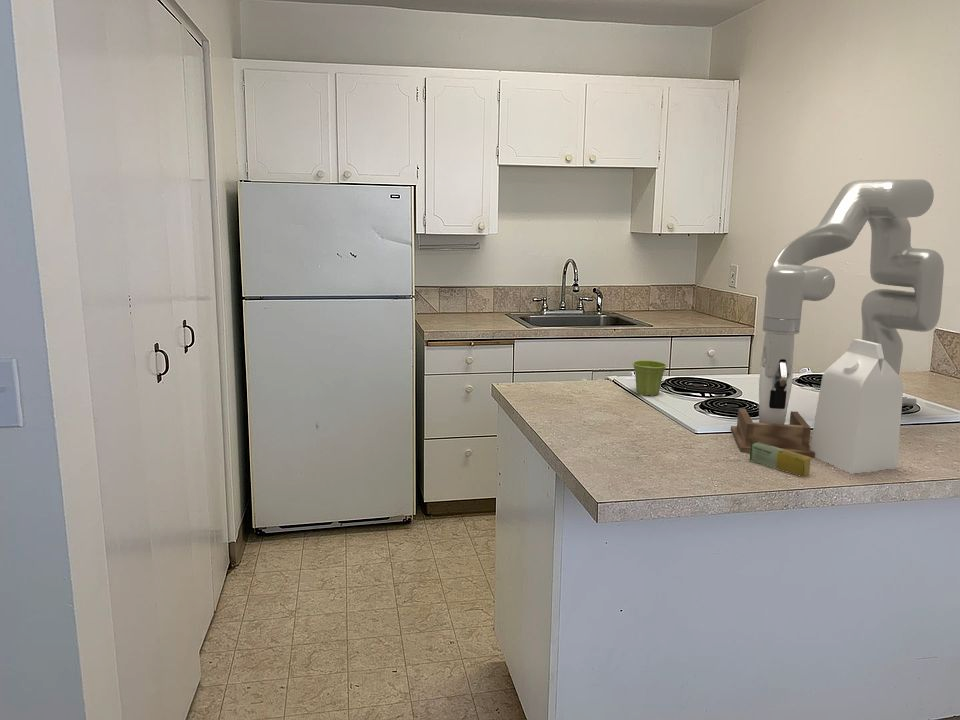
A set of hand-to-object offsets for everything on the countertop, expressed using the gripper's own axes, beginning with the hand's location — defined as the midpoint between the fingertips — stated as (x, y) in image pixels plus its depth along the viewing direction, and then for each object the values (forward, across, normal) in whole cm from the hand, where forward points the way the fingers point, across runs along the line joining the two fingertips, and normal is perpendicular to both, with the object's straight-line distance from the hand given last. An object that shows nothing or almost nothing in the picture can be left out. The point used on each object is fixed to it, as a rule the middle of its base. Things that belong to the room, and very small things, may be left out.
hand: (773, 403), depth 162 cm
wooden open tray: (+9, +1, 0) cm, 9 cm away
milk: (+10, +10, +14) cm, 20 cm away
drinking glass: (+7, 0, 0) cm, 7 cm away
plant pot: (+9, -37, -26) cm, 46 cm away
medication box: (+9, +17, -1) cm, 20 cm away
